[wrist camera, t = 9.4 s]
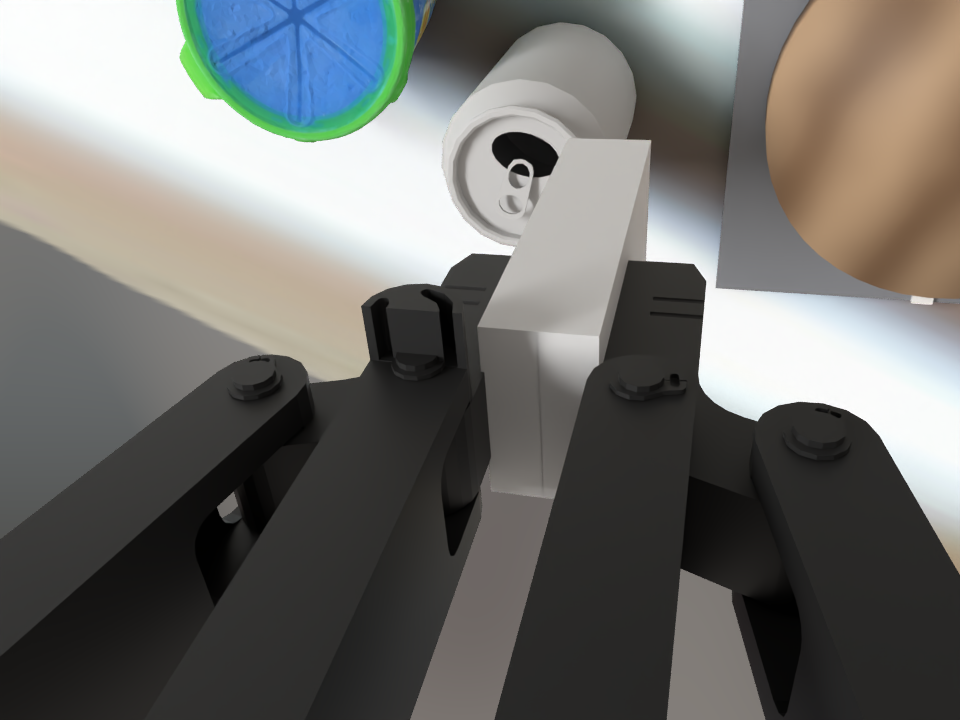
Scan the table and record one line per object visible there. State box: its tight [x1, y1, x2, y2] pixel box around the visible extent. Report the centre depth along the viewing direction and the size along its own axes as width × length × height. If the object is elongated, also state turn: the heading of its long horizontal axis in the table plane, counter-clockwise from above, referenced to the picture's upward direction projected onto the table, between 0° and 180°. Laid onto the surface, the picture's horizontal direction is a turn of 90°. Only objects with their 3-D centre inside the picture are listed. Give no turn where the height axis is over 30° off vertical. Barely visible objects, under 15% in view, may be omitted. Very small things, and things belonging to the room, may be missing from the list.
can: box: [442, 22, 637, 247], centre depth 40 cm, size 8×8×12 cm
